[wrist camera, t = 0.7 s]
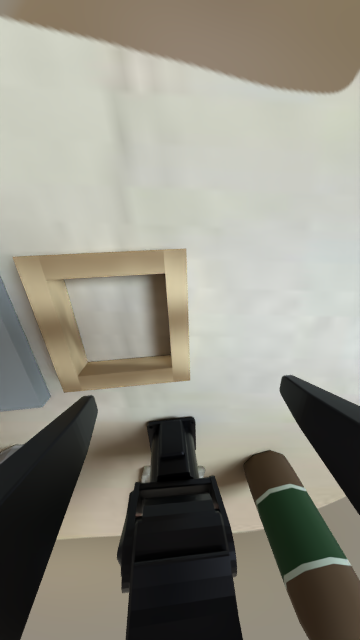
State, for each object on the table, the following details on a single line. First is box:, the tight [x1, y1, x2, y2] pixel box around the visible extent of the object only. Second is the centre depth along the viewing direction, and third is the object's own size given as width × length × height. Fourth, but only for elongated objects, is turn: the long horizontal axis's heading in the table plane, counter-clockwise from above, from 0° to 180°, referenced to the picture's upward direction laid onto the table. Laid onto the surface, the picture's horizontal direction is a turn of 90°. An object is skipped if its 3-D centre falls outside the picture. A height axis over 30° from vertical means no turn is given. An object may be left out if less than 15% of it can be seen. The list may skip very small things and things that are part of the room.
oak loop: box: [13, 249, 190, 393], centre depth 16 cm, size 13×13×2 cm
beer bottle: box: [244, 450, 360, 640], centre depth 18 cm, size 8×8×24 cm
